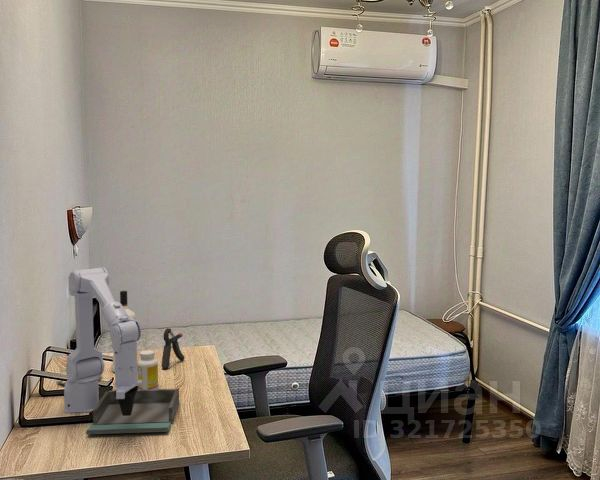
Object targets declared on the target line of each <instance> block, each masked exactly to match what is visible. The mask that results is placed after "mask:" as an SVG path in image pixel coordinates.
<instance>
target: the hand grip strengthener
mask: <svg viewBox="0 0 600 480" xmlns="http://www.w3.org/2000/svg"><path fill="white" fill-rule="evenodd" d="M163 332H164V333H163V341H164V346H163V350H162V358H161V368H162V370H165V371H167V370H169V368H170V360H171V353H172V350H173V352H174V355H175V357H176V358H177V359H178V360H179V361H181V362H184V360H185V356H184V354H183V352H182V351H181V349H180V344H179V341H178V340H179V339H180V338H182V337H183V333H182V332H179V333H178V334H176V335H175V334H174V333H173V331H172V328H169V327H167V328H166V329H165V330H164V331H163ZM169 336H171V338H170V337H169Z"/></svg>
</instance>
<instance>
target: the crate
mask: <svg viewBox="0 0 600 480" xmlns="http://www.w3.org/2000/svg"><path fill="white" fill-rule="evenodd" d="M115 390H116V389H114V390H106V391H105V392H104V394H103V395H102V396H101V397H100V398H99V400H100V401H99V402H98V403H97V405H96V406H95V408H94V409H93V412H92V425H113V424H144V423H171V425H173V423H174V421H175V418H176V416H177V415H176V414H177V412H178V409H179V406H180V389H179V388H162V389H161V388H160V389H159V388H158V389H149V390H137V392H136V395H135V399H134V404H133V409H132V413H131V415H130V416H123V415H122V412H121V408H120V404H119V402H118V400H117V399H116V397H115V395H114V392H115Z"/></svg>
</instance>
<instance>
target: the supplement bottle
mask: <svg viewBox="0 0 600 480" xmlns="http://www.w3.org/2000/svg"><path fill="white" fill-rule="evenodd" d="M139 357H140V359H138V360H137V379H138V380H142V384H141V385H137V386H138V387H139V388H138V390H149V389H159V362H158V359H157V358H155V351H154V350H151V349H149V350H142V351H140V353H139Z"/></svg>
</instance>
